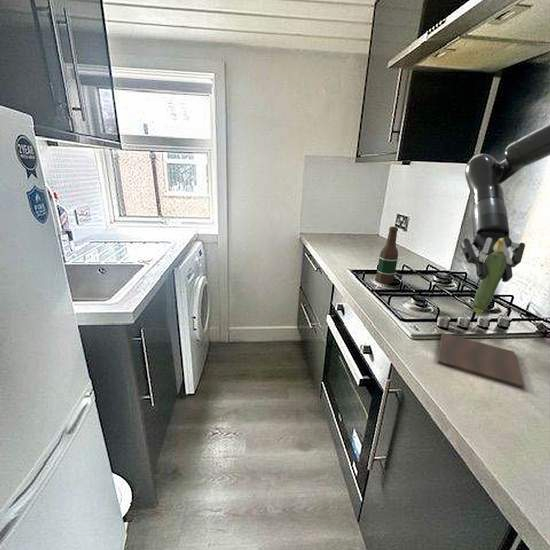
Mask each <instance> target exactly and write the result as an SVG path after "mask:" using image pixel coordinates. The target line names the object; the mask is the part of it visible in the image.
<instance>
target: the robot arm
mask: <svg viewBox="0 0 550 550" xmlns="http://www.w3.org/2000/svg"><path fill="white" fill-rule="evenodd" d="M504 157H505V159H503V160H502V161H500V162H499V161H498V160H496V159H495V158H494V157H493V156H492V155H490V154H489V153H479V154H476V155H474V156H473V157H471V158H470V159H469V161H468V162H467V163H466V166H465V170H464V176H465V180H466V184H467V186H468V189H469V191H470V194H471V204H472V205H471V206H472V211H471V222H472V224H471V225H472V237H473V238H470V239H469V238H467V237H466V238H463V240H462V242H460V244H459V246H460V248H461V250H462V253H463V256H464V258H465V260H466V262H467V264H473V265H475V272H476V277H477V278H478V279H479V280H483V279H484V278H486V264H485V263H484V262H485V260H486V258H487V256H488V255H489V254H491V253H493V252H494V250H493V248H494V245H495V244H496V243H497V241H499V239H501V238H504V240H503V241H504V250H503V252H502V253H503V254H504V255H505V256H506V258H507V265H506V269H505V272H504V274H503V277H502V278H501V281H502V282H503V283H507V282H509V281H510V280H511V279H512V278H513V277H514V275H513V268H515V267H517V265H519V264H520V263H521V262H522V259H523V255H524V251H525V248H526V243H524V242H519V243H516V242H513V240H512V239H511V238H510V228H509V227H510V225H509V218H508V217H509V216H508V210H507V206H506V203H505V202H506V201H505V195H504V189H503V187H502V186H501V184H503V183H504V182H506V181H507V180H508V179H509V178H512V176H514V175H515V174H517V173H518V172H520V171H521V170H522V169H524V168H525V167H528V166H530V165H532V164H534V163H536V162H538V161H541V160H543V159H545V158H547V157H550V123H547V124H545V125H543V126H541V127H540V128H538V129H535V130H533V131H531V132H530V133H528V134H526V135H525V136H522V137H520V138H519V139H516V140H514V141H513V142H511V143H510V144H508V145H507V146H506V147H505V149H504ZM473 247H475V248H476V249H477V255H476V253H475V250H474V248H473ZM509 248H510V249H511V251H509ZM510 252H511V253H512V256H511V253H510Z"/></svg>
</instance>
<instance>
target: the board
mask: <svg viewBox="0 0 550 550" xmlns="http://www.w3.org/2000/svg"><path fill="white" fill-rule="evenodd" d="M437 363H438V364H441V365H444V366H447V367H450V368H454V369H457V370H460V371H463V372H466V373H470V374H474V375H477V376H480V377H483V378H487V379H490V380H494V381H497V382H500V383H502V384H503V383H504V384H507V385H510V386H513V387H516V388H520V389H523V388H524V383H523V379H522V375H521V371H520V369H519V365H518V361H517V357H516V354H515V351H513V350H511V349H506V348H503V347H502V348H501V347H499V346H498V347H497V346H494V345H490V344H486V343H482V342H480V341H475V340H471V339H467V338H464V337H460V336H456V335H452V334H448V333H445V332H444V333H443V332H441V334H440V342H439V352H438V360H437Z"/></svg>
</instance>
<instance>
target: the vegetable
mask: <svg viewBox="0 0 550 550" xmlns="http://www.w3.org/2000/svg"><path fill="white" fill-rule="evenodd" d="M503 240H504V238H501V239H499V241H497V243H496V244H495V245H494V248H493V250H494V252H493V253H491V254H489V255H486V258H485V261H484V263H485V264H486V278H484V279H483V280H481V279H480V280H481V281H480V283H479V287H478V288H477V289H476V292H475V295H474V299H473V302H472V305H473V308H472V311H473V313H478V314H483V312H484V311H485V310H487V308H488V307H489V306H490V304H491V302H492V299H493V298H494V296H495V293H496V290H497V288H498V286H499V284H500V281H502V277H503V274H504V272H505V269H506V265H507V258H506V256H505V255H504V254H503V253H502V252H503V250H504V241H503Z"/></svg>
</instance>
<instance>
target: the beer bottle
mask: <svg viewBox="0 0 550 550" xmlns="http://www.w3.org/2000/svg"><path fill="white" fill-rule="evenodd" d="M398 231H399V227H397V226H389V228H388V235H387V239H386V243H385V245H384V246H383V247H382V249H381V251H380V253H379V258H378V262H377V270H376V275H375V281H376V282H377V283H378V284H384V285H391V284H393V283H394V280H395V275H396V271H397V266H398V265H397V264H398V258H399V251H398V248H397V234H398Z"/></svg>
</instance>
